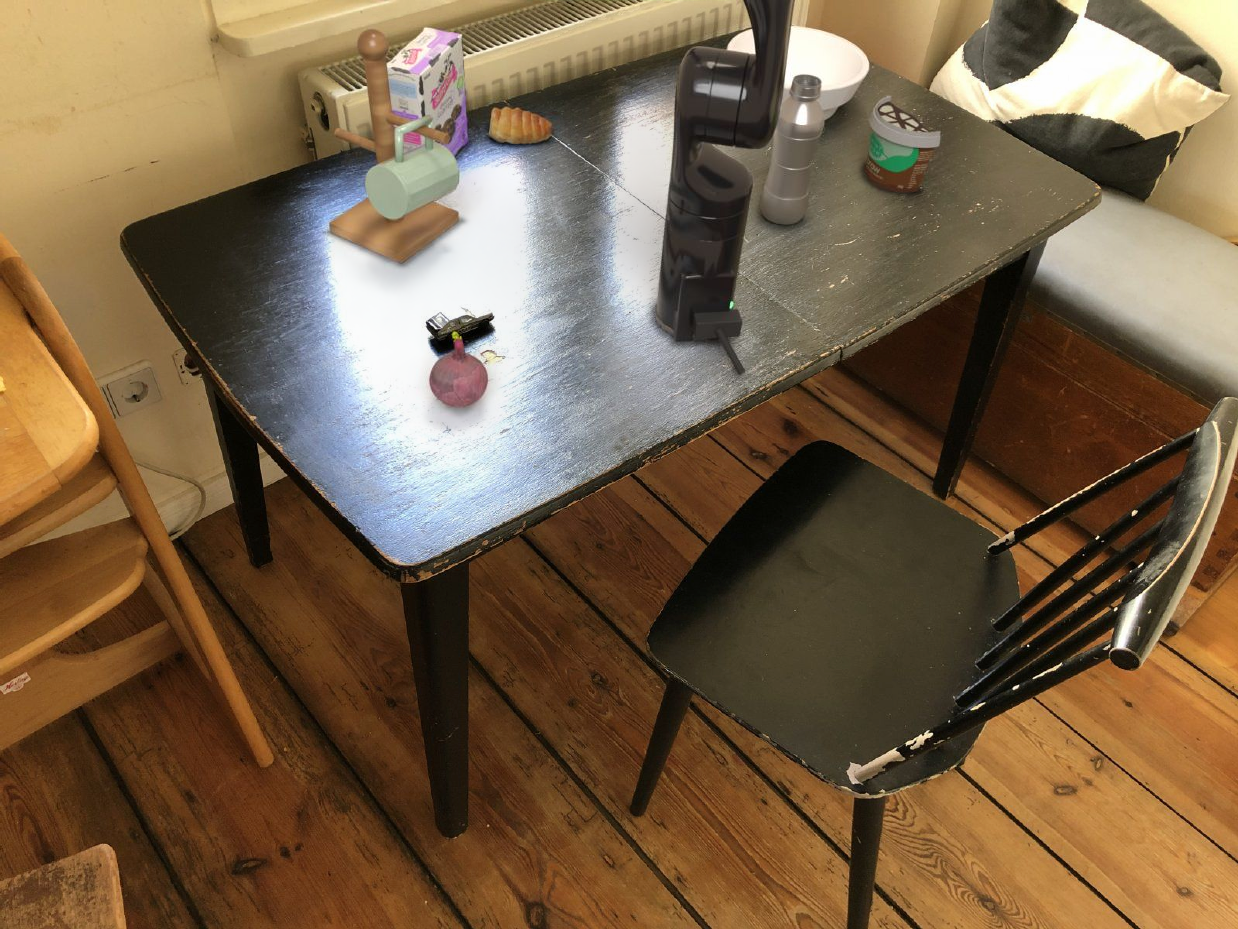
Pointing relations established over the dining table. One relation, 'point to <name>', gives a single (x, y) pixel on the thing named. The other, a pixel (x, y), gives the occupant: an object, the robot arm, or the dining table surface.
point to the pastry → (518, 126)
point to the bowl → (818, 63)
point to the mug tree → (363, 219)
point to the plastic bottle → (793, 152)
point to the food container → (898, 148)
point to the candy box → (431, 86)
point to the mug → (412, 175)
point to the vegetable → (458, 377)
